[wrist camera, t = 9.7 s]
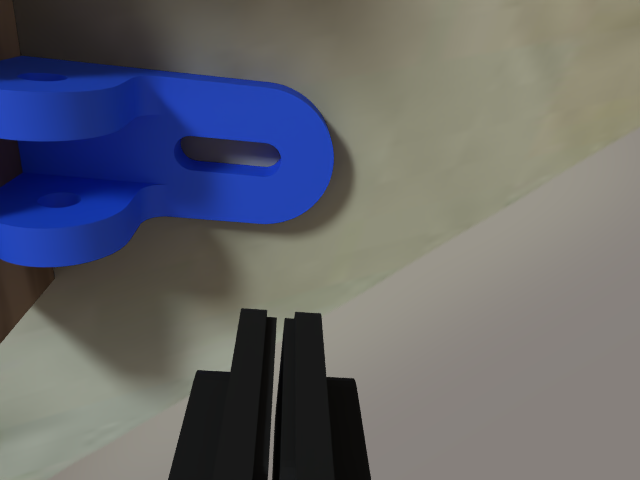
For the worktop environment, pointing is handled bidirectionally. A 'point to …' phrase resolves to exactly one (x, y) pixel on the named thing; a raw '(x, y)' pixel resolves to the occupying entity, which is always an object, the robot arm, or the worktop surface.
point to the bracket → (144, 155)
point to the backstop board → (3, 165)
